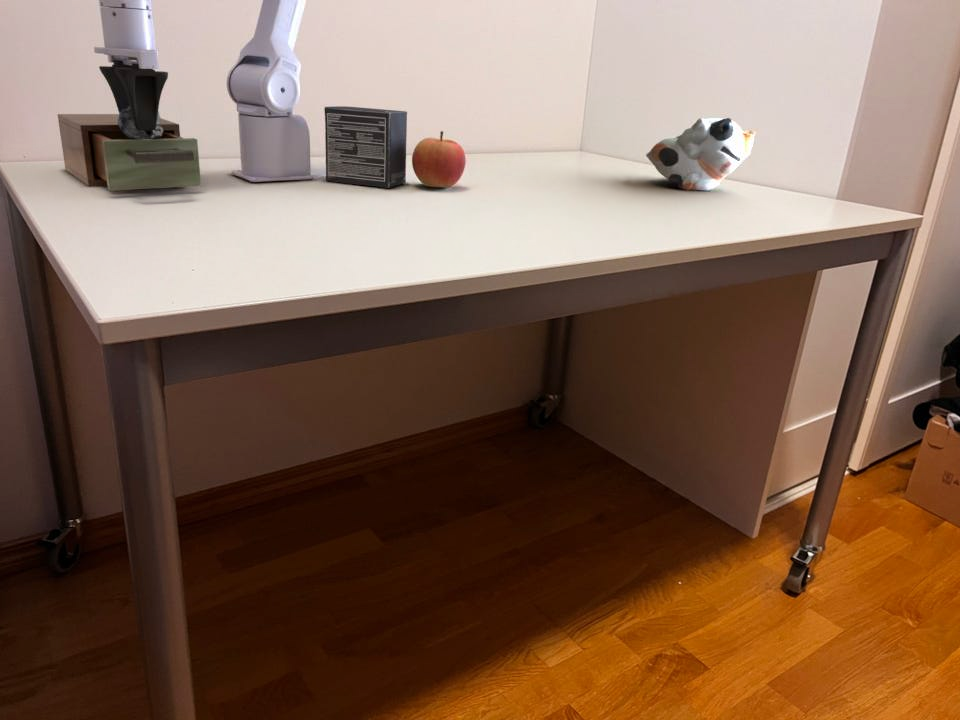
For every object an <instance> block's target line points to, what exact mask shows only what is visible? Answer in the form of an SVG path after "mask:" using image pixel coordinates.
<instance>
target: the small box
mask: <svg viewBox="0 0 960 720" xmlns="http://www.w3.org/2000/svg"><path fill="white" fill-rule="evenodd" d="M323 110H324V126H325V127H324V129H325V133H324V134H325V135H324V136H325V137H324V138H325V181H326V182H334V183H341V184H351V185H358V186H367V187H377V188H384V189H389V188H393V187H395V186H399V185H402V184H406V182H407V181H406V180H407V179H406V178H407V135H408V134H407V131H408V129H407V128H408V111H407V110H394V109H381V108H370V107H358V106H346V105H345V106H344V105H343V106H341V105H340V106H338V105H337V106H324V109H323Z"/></svg>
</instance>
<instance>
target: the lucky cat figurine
mask: <svg viewBox="0 0 960 720" xmlns="http://www.w3.org/2000/svg"><path fill="white" fill-rule="evenodd" d="M755 135H756V131H753V130H747V131H745V130H744V131H743V130H742V128H741V127H740V125H739V124H737V122H735V121H733V120H732V118H730V117H720V118H715V117H709V118H702V117H700V118H698V119H697V120H696V121H695V123H693V124H692V126H691V127H688V128H686V129H684V131H683V132H682V134H679V135H678V136H675V137H674V138H673V137H672V138H671V137H670V138H665V139H662V140H660V141H659V142H657V143H656V144H654V146H653V147H651V149H650V150H649V152H647V153H646V154H645V156H646V158H647V159H648V160H649V161H650V163H651V164H652V165H653V166H654V168H655V169H656V171H657V172H658V173H659V174H660V175H661V176H663V177H664V178H665V179H667V180H668V181H669V182H673V183H676V185H677V187H678V188H679V189H682V190H686V191H712V190H713V189H714V188H716V187H717V186H719V185H720V183H721V181H722V180H723V179H724V178H726V177H727V176H728V175H731V173H732V172H733V171H734V170H735V169H737V167H739V166H740V164H741V163H742V162H743V161H744V160H745V159H746V158H747V157H748V156H750V154H751V150H752V148H753V143H754V140H755V138H754V137H755Z"/></svg>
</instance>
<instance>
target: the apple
mask: <svg viewBox="0 0 960 720" xmlns="http://www.w3.org/2000/svg"><path fill="white" fill-rule="evenodd" d="M439 133H440V135H439V138H436V137H426V138H423V139H421V140H420V141H419V142H418V143H417V144H416V146H415V147H414V149H413V152H412V156H411V165H412V169H413V173H414V174H415V176H416V178H417V179H418V181H420V183H421V184H423V185H425V186H427V187H429V188H452V187H453V186H455V185H456V184H457V183H458V182H459V181H460V179H461V177H462V176H463V174H464V172H465V168H466V164H467V163H466V162H467V159H466V157H467V156H466V152H465V150H464V149H463V147H462V146H461V145H460V144H459V143H458V142H456V141H454V140H452V139H444V138H443V136H444V131H443V130H441V131H440V132H439Z"/></svg>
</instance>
